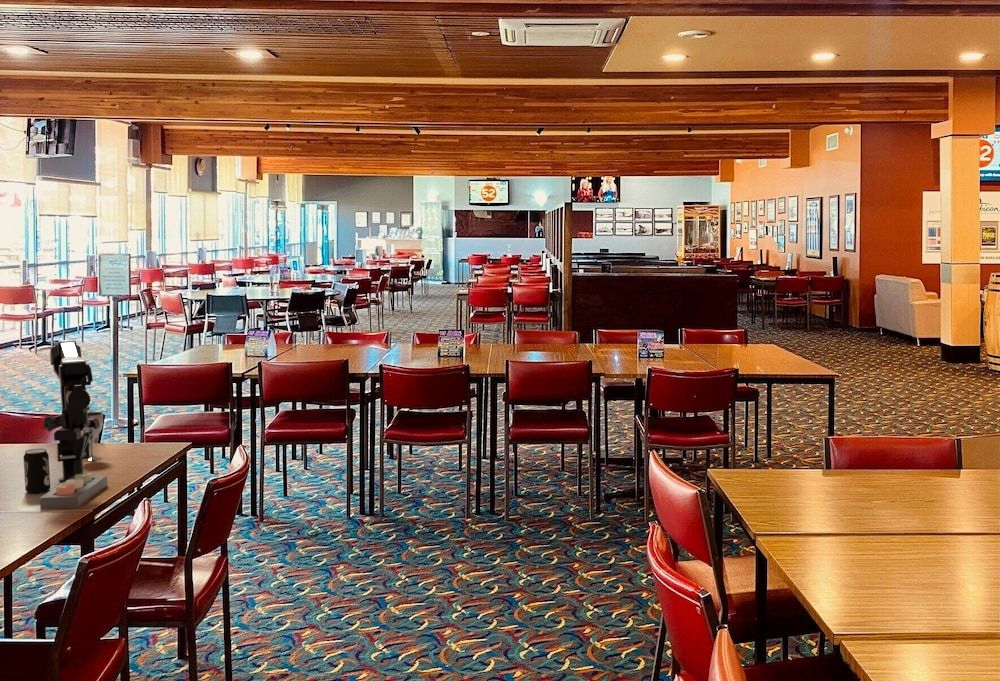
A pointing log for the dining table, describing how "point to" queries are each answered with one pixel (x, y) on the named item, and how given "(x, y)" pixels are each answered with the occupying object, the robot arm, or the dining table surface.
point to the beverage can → (36, 471)
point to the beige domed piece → (75, 483)
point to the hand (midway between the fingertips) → (78, 459)
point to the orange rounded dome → (65, 490)
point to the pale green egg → (84, 477)
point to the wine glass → (94, 433)
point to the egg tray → (75, 499)
